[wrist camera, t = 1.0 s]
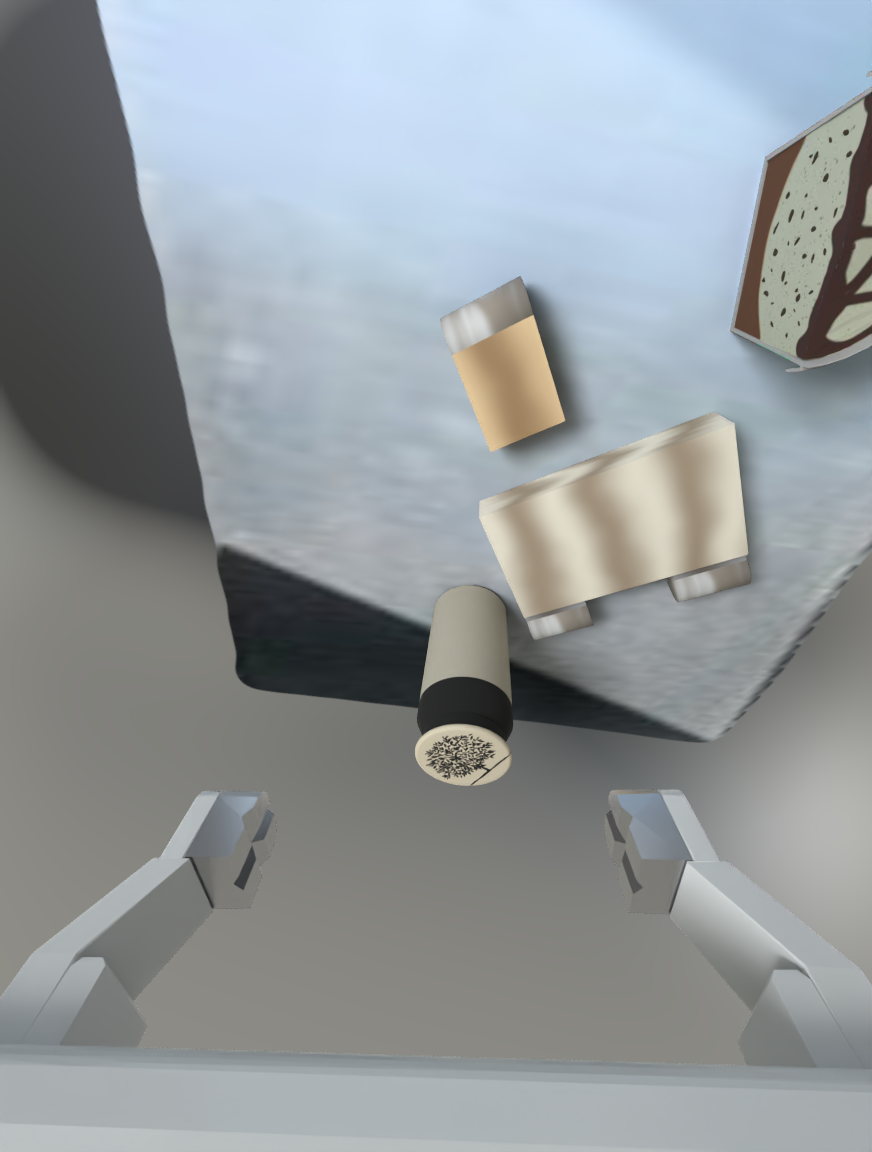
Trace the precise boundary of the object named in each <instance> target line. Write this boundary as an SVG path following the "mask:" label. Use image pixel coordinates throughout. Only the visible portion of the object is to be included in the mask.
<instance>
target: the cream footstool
mask: <svg viewBox="0 0 872 1152" xmlns="http://www.w3.org/2000/svg"><path fill="white" fill-rule="evenodd" d="M479 518H480V521H481V523H482V525H483V527H484V530H485V532H486V534H487V536H488V538H489V541H490V543H491V545H492V547H493V550H494V552H495V554H496V556H497V558H498V561H499V563H500V565H501V567H502V570H503V572H504V574H505V576H506V579H507V581H508V583H509V585H510V587H511V590H512V592H513V594H514V596H515V599H516V601H517V603H518V605H519V607H520V610H521V612H522V614H523V616H524V618H526V621H527V623H528V627H529V630H530V632H531V635H532V637H533V639H534V640H539V639H543V638H546V637H550V636H554V635H558V634H561V633H565V632H569V631H573V630H576V629H580V628H584V627H588V626H591V625H593V622H592V619H591V616H590V613H589V610H588V607H587V604H586V601H587V600H590V599H594V598H597V597H601V596H604V595H608V594H611V593H615V592H618V591H622V590H625V589H629V588H632V587H636V586H639V585H643V584H646V583H650V582H653V581H657V580H660V579H664V578H667V582H668V584H669V587H670V590H671V592H672V594H673V596H674V598H675V600H676V601H677V602H681V601H685V600H689V599H693V598H696V597H700V596H704V595H708V594H711V593H715V592H719V591H723V590H726V589H730V588H734V587H738V586H741V585H745V584H749V583H750V582H751V571H750V568H749V565H748V562H747V559H746V555H748V545H747V536H746V526H745V517H744V508H743V498H742V489H741V480H740V470H739V461H738V451H737V442H736V433H735V424H734V423H732V422H731V421H729V420H727V419H726V418H724V417H722V416H721V415H719V414H717V413H715V412H712V413H709V414H707V415H704V416H702V417H699V418H696V419H694V420H691V421H688V422H686V423H683V424H681V425H678V426H675V427H673V428H670V429H667V430H665V431H662V432H660V433H657V434H654V435H652V436H649V437H647V438H644V439H641V440H639V441H636V442H633V443H631V444H628V445H626V446H623V447H620V448H618V449H615V450H612V451H610V452H607V453H605V454H602V455H599V456H597V457H594V458H592V459H589V460H586V461H584V462H581V463H578V464H576V465H573V466H571V467H568V468H565V469H563V470H560V471H557V472H555V473H552V474H550V475H547V476H544V477H542V478H539V479H537V480H534V481H531V482H529V483H526V484H523V485H521V486H518V487H516V488H513V489H510V490H508V491H505V492H502V493H500V494H497V495H495V496H492V497H489V498H487V499H484V500H481V501H480V510H479Z"/></svg>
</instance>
